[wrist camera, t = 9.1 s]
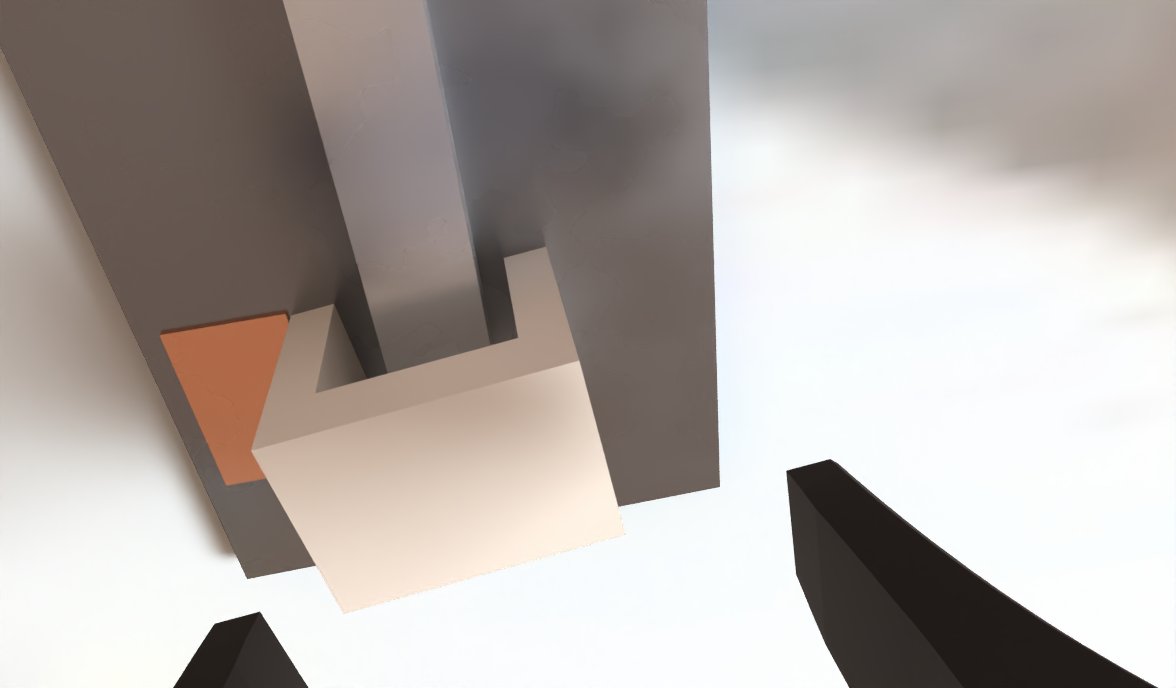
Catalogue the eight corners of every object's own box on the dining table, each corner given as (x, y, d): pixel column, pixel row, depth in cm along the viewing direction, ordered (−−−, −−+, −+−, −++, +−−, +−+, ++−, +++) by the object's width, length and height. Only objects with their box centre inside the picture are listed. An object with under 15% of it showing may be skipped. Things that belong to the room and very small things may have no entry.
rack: (680, -444, 12) (738, -513, 10) (710, 467, 22) (745, 541, 20) (-158, -363, 11) (-312, -419, 9) (253, 555, 21) (230, 645, 19)
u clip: (545, 246, 17) (579, 360, 13) (586, 398, 19) (625, 534, 15) (291, 315, 17) (250, 451, 13) (360, 460, 19) (344, 614, 15)
